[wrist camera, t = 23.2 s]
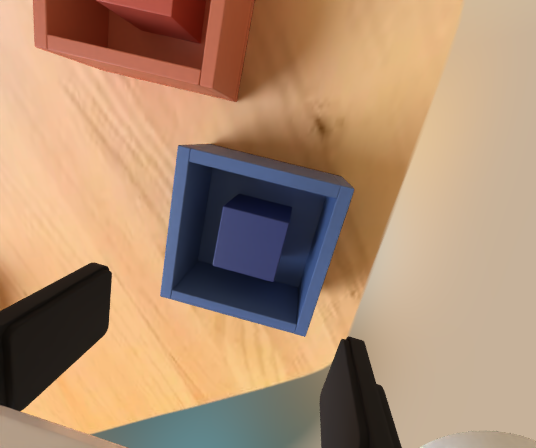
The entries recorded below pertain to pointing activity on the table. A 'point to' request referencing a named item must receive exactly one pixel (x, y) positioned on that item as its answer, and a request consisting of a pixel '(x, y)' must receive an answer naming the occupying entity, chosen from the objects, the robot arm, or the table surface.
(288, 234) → the blue bin
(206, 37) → the terracotta bin
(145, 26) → the terracotta block
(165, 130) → the table surface
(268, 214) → the navy block
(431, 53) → the table surface
